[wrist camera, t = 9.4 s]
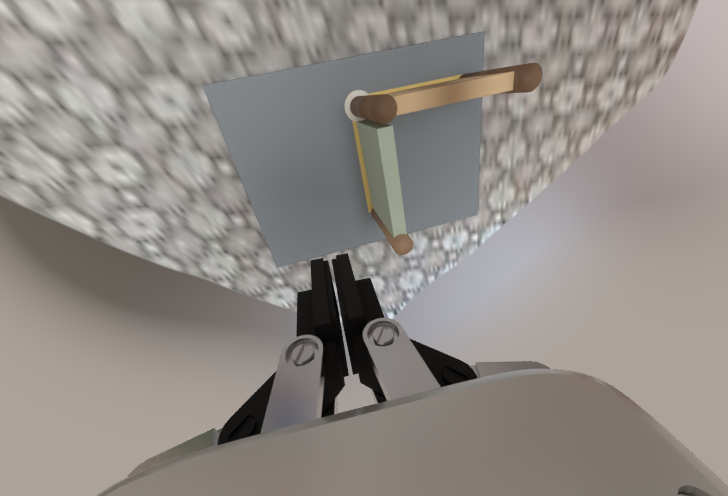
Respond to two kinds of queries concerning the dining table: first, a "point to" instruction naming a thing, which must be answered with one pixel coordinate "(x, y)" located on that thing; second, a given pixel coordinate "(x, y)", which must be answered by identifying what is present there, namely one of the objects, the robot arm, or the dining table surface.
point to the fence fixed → (447, 92)
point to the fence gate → (384, 182)
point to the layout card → (350, 146)
